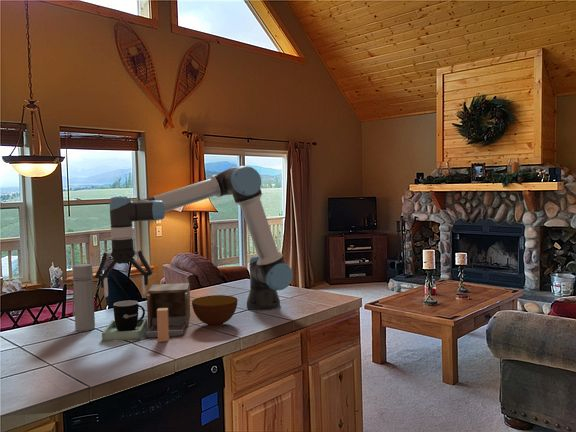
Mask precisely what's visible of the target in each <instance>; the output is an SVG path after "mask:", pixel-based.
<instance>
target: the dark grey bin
mask: <svg viewBox="0 0 576 432" xmlns="http://www.w3.org/2000/svg"><path fill="white" fill-rule="evenodd" d="M179 325H182V326H181V329H172V330H171V329H170V328H169V326H179ZM155 327H157V330H154V328H155ZM185 328H186V320H185V316H178V317H168V308H158V310H157V318H152V326H151V328H150V329H148V331H146V338H156V337H157V342H158V343H159V342H160V343H161V342H169V339H170V337H174V336H177V337H178V336H183V335H184V331H185Z"/></svg>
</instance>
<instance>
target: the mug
mask: <svg viewBox="0 0 576 432" xmlns="http://www.w3.org/2000/svg"><path fill="white" fill-rule="evenodd" d="M112 306H113V307H112V308H113V317H114V321H115V324H116V328H117V330H118V331H133V330H135V329H136V326H137V323H138V322H139V321H141V320H142V319H145V318H144V317H145V315H146V310H145V308H144V306H142V305H140V304H139V301H137V300H122V301H121V300H120V301H117V302H114V303H113V305H112ZM139 308H140V309H141V310H142V315H141V317H140V318H139ZM138 319H139V320H138Z"/></svg>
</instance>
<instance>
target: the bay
mask: <svg viewBox="0 0 576 432" xmlns="http://www.w3.org/2000/svg"><path fill="white" fill-rule="evenodd" d="M190 290H191V289H190V283H189V282H184V283H182V282H181V283H161V284H159V283H158V284H156V283H155V284H152V285H151V286H150V288H149V289H148V292H147V295H146V309H147V311H146V312H147V330H150V328H151V326H152V318H157V310H158V308H168V317H178V316H185V328H188V327H189V323H190V319H191V296H190V292H191V291H190Z"/></svg>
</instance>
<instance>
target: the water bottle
mask: <svg viewBox="0 0 576 432" xmlns="http://www.w3.org/2000/svg"><path fill="white" fill-rule="evenodd" d="M70 281H72V282H73V283H72V285H73V286H72V287H73V291H72V305H71V306H72V307H71V310H72V311H71V312H72V316H73V317H74V326H75V328H74V329H75V331H77V332H80V331H84V332H89V330H90V331H92V330H93V329H95V327H96V321H95V316H96V315H95V297H94V295H95V294H94V293H95V292H94V272H93V265H92V264H91V263H80V264H74V265H73V271H72V278H70Z"/></svg>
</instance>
